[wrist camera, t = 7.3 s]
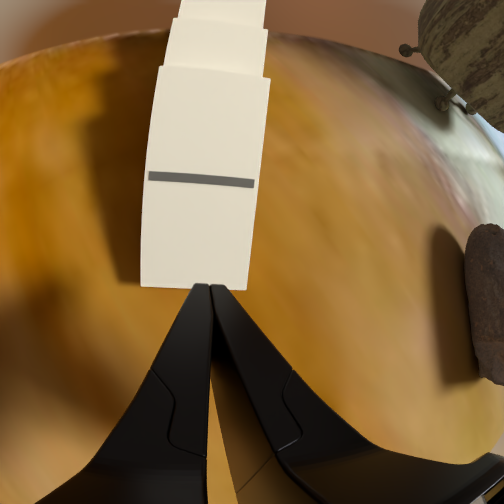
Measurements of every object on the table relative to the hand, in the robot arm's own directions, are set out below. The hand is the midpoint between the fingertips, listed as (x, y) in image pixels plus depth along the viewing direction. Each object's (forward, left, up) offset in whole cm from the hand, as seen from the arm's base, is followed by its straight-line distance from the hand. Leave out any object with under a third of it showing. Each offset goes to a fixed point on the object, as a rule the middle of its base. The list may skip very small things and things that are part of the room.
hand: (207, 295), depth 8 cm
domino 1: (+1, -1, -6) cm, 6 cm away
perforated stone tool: (-15, -18, -7) cm, 25 cm away
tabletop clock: (+2, -32, -7) cm, 32 cm away
